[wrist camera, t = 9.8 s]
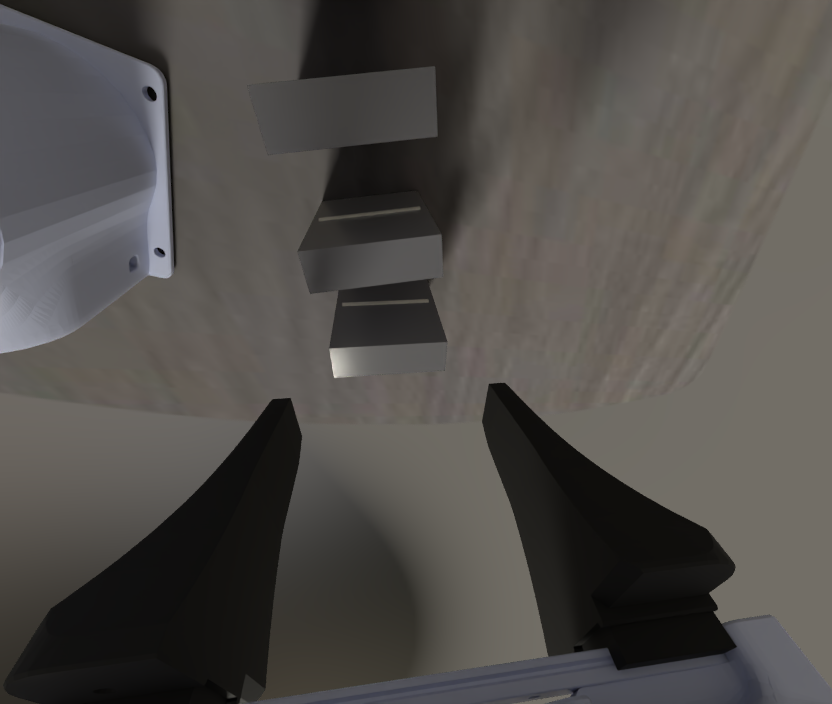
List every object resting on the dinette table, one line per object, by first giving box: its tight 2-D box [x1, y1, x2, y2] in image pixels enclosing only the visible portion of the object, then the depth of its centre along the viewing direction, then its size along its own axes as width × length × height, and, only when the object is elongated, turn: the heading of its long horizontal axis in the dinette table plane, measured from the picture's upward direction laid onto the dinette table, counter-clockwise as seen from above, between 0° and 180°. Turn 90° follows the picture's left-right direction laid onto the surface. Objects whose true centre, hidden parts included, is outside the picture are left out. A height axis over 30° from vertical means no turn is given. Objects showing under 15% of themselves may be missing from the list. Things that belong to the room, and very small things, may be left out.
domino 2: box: [297, 190, 443, 294], centre depth 15 cm, size 2×5×8 cm, turn 95°
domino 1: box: [247, 66, 438, 155], centre depth 12 cm, size 2×5×8 cm, turn 95°
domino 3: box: [329, 279, 447, 378], centre depth 18 cm, size 2×5×8 cm, turn 90°
